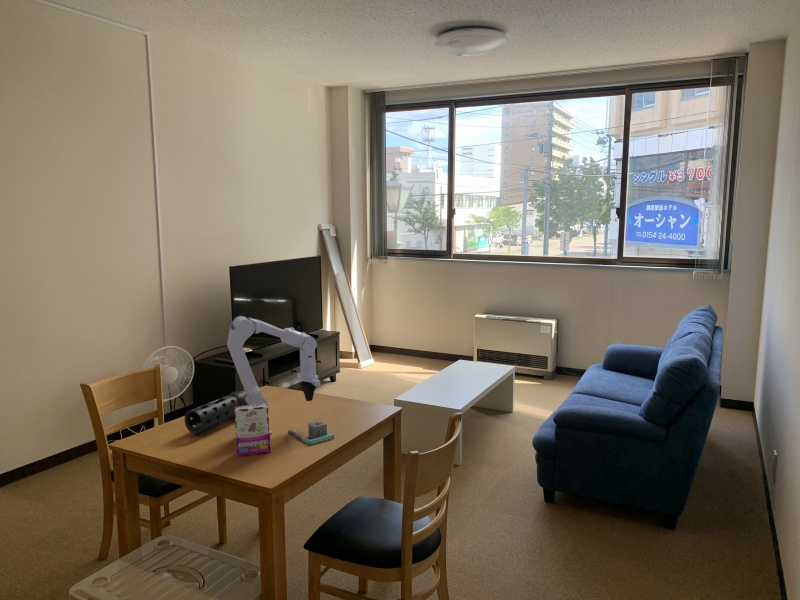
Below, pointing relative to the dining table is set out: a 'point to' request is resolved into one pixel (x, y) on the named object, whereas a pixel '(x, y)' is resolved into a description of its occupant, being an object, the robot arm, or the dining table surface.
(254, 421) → the candy bar box
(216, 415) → the muzzle brake
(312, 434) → the dice cube
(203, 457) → the dining table surface
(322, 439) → the guide lane
